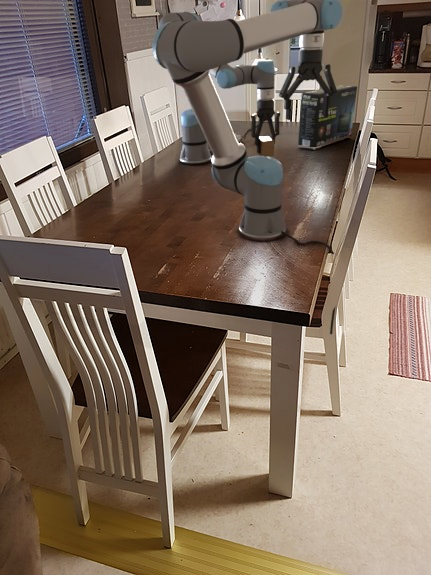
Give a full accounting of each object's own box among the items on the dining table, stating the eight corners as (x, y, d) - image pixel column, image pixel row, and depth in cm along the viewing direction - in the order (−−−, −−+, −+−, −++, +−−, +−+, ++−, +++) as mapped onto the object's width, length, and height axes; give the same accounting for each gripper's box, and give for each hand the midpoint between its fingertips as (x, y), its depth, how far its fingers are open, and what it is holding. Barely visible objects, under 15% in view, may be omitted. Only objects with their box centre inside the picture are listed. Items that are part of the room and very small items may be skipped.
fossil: (235, 141, 239) (215, 122, 242) (224, 158, 245) (206, 140, 249) (251, 139, 253) (233, 122, 256) (241, 155, 259) (223, 138, 262)
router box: (314, 151, 231) (318, 94, 217) (296, 148, 237) (299, 92, 224) (352, 138, 251) (358, 85, 238) (335, 135, 258) (340, 83, 245)
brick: (256, 153, 218) (256, 137, 214) (267, 151, 219) (267, 136, 215) (262, 157, 211) (262, 141, 207) (273, 156, 212) (274, 139, 209)
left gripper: (248, 102, 198) (248, 156, 210) (288, 98, 202) (286, 151, 213) (243, 99, 204) (243, 152, 216) (282, 96, 208) (280, 147, 220)
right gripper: (279, 51, 142) (276, 122, 153) (351, 47, 147) (344, 116, 158) (270, 50, 148) (268, 118, 159) (340, 45, 153) (334, 112, 164)
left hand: (265, 151), depth 215 cm, fingers closed on brick, 6 cm apart
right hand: (306, 117), depth 159 cm, fingers open, 13 cm apart
